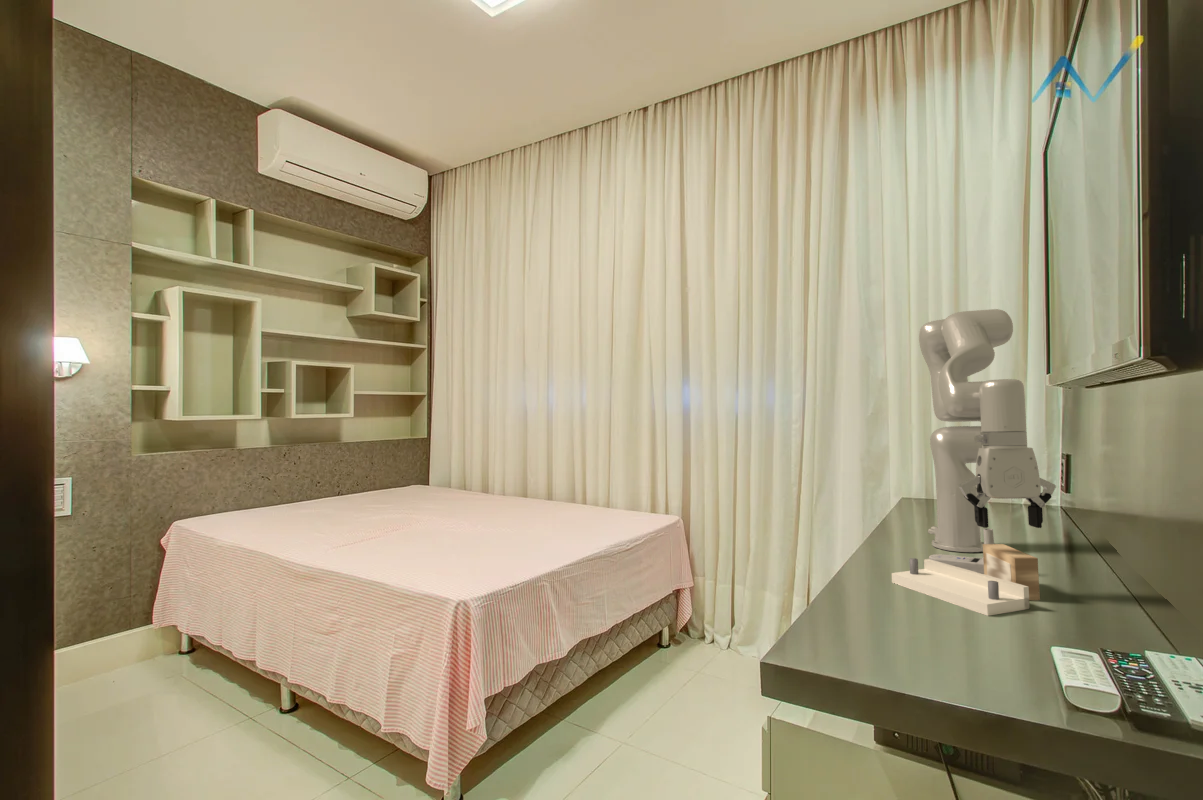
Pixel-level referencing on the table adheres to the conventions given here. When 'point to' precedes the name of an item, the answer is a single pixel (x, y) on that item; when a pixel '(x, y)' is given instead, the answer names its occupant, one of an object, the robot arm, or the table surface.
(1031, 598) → the tan wooden block
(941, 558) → the electronic device
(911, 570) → the ledge
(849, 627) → the table surface
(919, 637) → the table surface
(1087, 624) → the table surface
